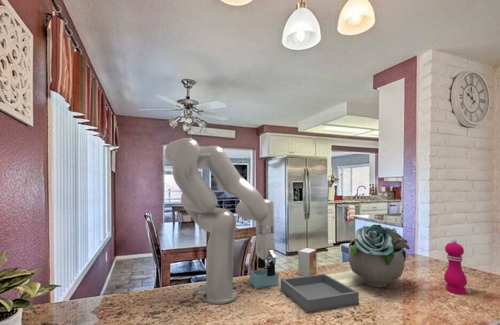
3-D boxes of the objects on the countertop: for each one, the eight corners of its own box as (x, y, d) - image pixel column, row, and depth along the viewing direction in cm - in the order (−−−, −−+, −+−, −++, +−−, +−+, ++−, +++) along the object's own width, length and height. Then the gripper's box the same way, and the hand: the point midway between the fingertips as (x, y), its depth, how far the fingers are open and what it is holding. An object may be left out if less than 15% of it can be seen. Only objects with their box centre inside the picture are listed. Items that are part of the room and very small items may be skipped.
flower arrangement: (425, 291, 108) (423, 227, 110) (376, 300, 99) (375, 230, 101) (375, 271, 131) (374, 218, 133) (331, 277, 122) (331, 221, 124)
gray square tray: (308, 313, 89) (308, 300, 90) (280, 289, 108) (280, 279, 108) (358, 304, 96) (358, 292, 96) (324, 283, 115) (324, 273, 115)
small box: (309, 277, 122) (309, 252, 123) (297, 274, 126) (297, 250, 126) (316, 272, 129) (316, 249, 129) (305, 270, 132) (305, 247, 133)
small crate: (255, 288, 109) (255, 275, 109) (249, 283, 114) (250, 270, 115) (278, 285, 112) (278, 272, 113) (272, 280, 118) (272, 268, 118)
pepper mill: (445, 292, 107) (444, 239, 108) (443, 286, 113) (441, 236, 115) (469, 296, 104) (467, 241, 105) (465, 289, 110) (463, 238, 111)
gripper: (249, 226, 122) (250, 266, 121) (265, 234, 105) (266, 280, 105) (265, 225, 124) (266, 264, 124) (282, 232, 108) (284, 277, 107)
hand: (266, 271), depth 114 cm, fingers open, 9 cm apart
